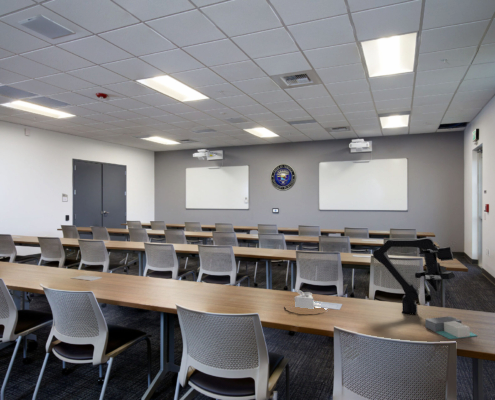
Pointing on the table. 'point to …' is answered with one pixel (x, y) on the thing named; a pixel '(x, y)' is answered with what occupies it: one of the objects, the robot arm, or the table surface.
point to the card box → (457, 329)
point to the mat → (452, 335)
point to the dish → (306, 301)
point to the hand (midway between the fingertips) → (437, 291)
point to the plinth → (439, 323)
